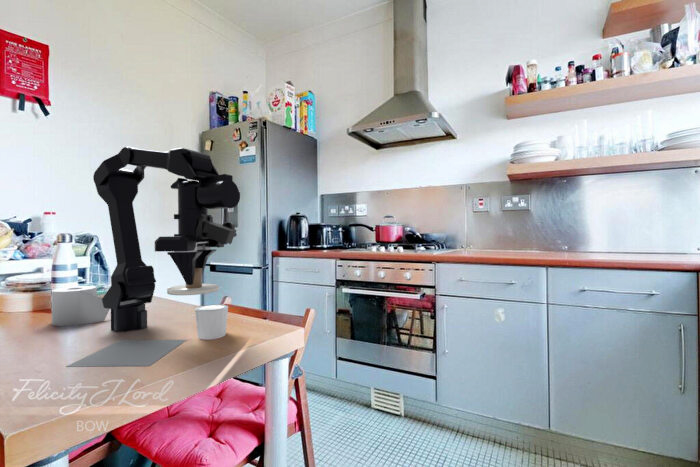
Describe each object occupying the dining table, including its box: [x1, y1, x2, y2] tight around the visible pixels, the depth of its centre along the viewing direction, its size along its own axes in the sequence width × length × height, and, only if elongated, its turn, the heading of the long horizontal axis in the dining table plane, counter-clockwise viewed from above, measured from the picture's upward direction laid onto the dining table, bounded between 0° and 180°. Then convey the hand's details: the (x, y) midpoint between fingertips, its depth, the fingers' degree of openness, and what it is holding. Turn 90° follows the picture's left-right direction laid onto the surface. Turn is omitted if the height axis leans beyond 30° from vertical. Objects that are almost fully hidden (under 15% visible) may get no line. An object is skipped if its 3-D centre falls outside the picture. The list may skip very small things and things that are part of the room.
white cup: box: [194, 304, 229, 341], centre depth 75 cm, size 7×7×7 cm
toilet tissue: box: [51, 285, 110, 327], centre depth 91 cm, size 9×13×9 cm
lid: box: [166, 268, 220, 296], centre depth 72 cm, size 10×10×5 cm
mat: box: [65, 339, 187, 368], centre depth 65 cm, size 14×14×1 cm
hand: (193, 283), depth 72 cm, fingers closed on lid, 3 cm apart
